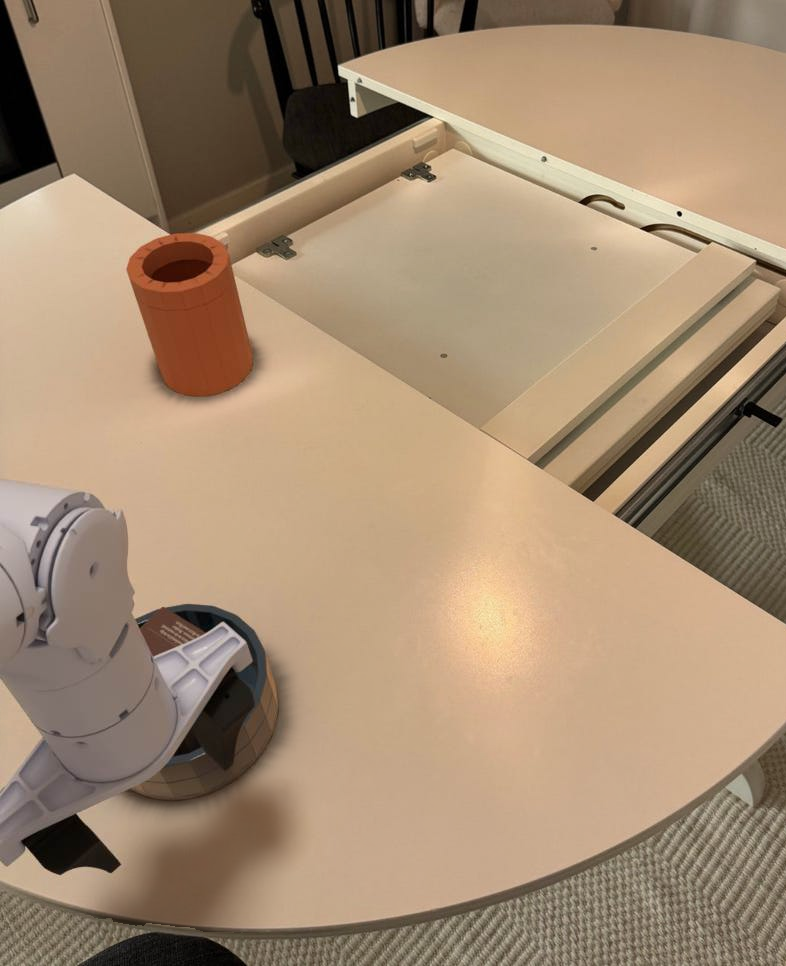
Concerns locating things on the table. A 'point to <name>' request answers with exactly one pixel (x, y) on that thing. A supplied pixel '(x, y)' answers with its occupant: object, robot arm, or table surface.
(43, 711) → the robot arm
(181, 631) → the box
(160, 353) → the jar
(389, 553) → the table surface
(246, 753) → the bowl
